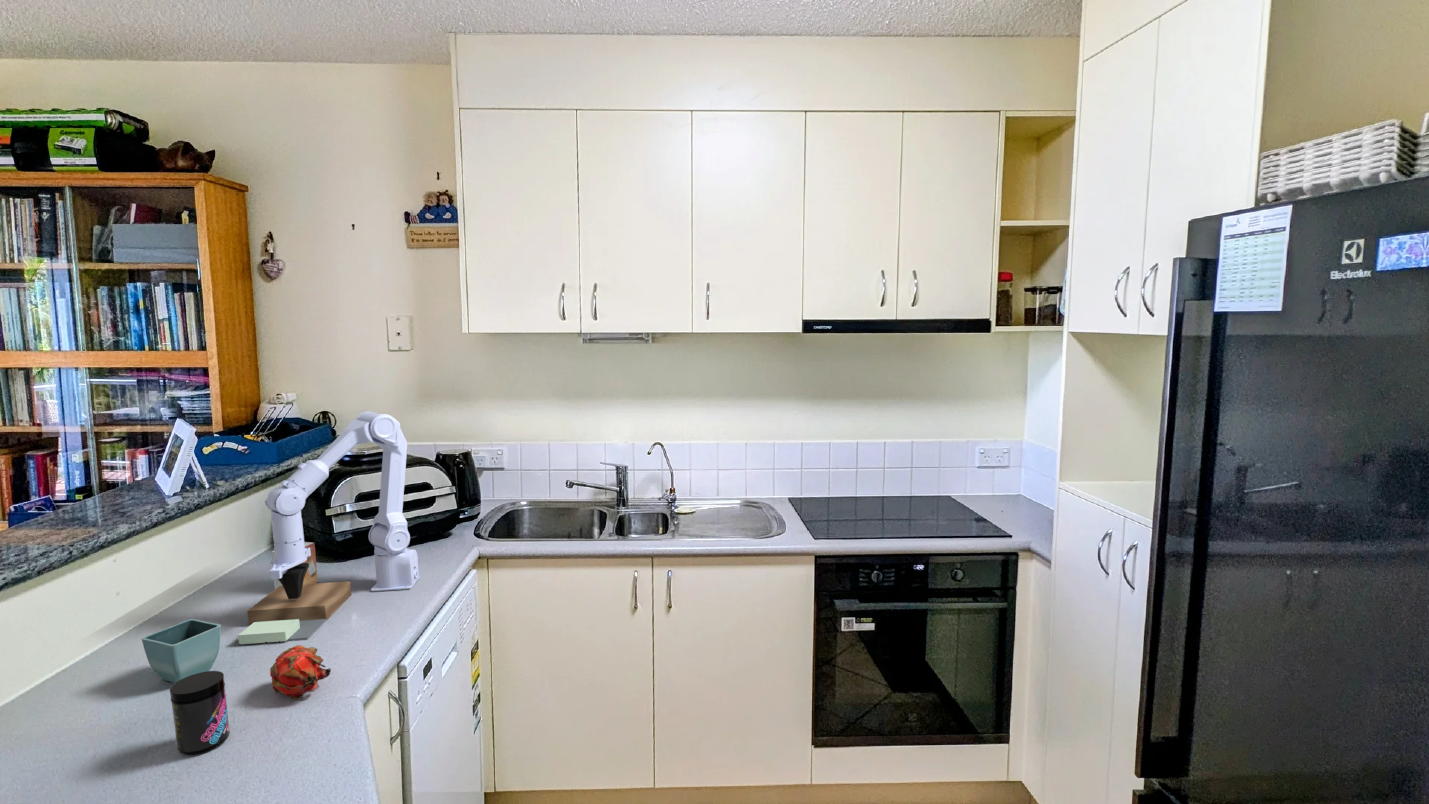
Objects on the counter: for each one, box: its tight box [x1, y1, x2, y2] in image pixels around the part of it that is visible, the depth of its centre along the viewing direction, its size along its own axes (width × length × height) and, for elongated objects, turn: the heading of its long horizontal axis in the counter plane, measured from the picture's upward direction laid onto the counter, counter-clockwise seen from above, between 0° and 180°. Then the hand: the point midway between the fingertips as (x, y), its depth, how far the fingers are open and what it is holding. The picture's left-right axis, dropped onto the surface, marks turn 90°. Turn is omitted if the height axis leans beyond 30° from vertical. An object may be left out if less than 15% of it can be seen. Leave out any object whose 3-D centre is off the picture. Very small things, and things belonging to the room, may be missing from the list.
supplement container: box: [169, 670, 231, 756], centre depth 104 cm, size 7×7×10 cm
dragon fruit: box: [269, 644, 332, 700], centre depth 119 cm, size 8×8×12 cm
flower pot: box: [141, 618, 222, 684], centre depth 125 cm, size 9×9×9 cm
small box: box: [270, 541, 319, 590], centre depth 167 cm, size 8×6×10 cm
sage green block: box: [238, 619, 300, 645], centre depth 140 cm, size 9×6×2 cm, turn 98°
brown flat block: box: [246, 580, 352, 627], centre depth 154 cm, size 16×14×4 cm
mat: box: [234, 619, 327, 646], centre depth 143 cm, size 14×9×1 cm, turn 98°
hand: (294, 597), depth 151 cm, fingers closed
